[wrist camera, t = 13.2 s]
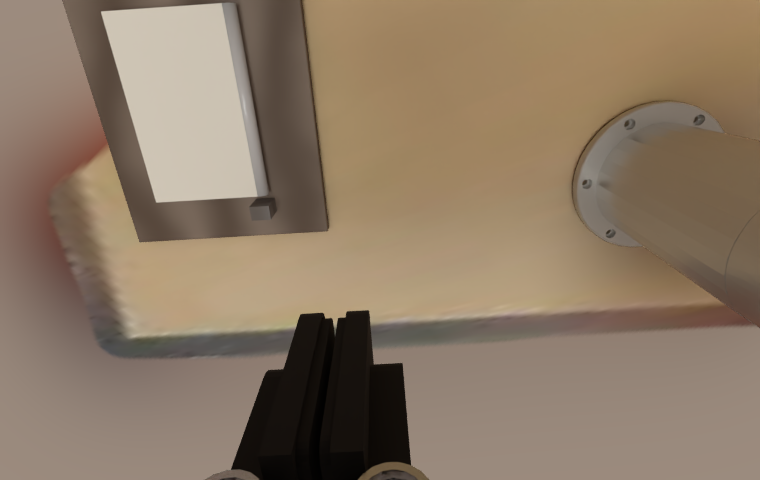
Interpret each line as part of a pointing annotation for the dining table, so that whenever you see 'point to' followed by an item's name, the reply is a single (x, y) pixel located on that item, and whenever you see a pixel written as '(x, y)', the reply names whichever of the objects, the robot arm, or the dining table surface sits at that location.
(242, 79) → the tile
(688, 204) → the robot arm
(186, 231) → the board
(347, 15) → the dining table surface
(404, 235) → the dining table surface
